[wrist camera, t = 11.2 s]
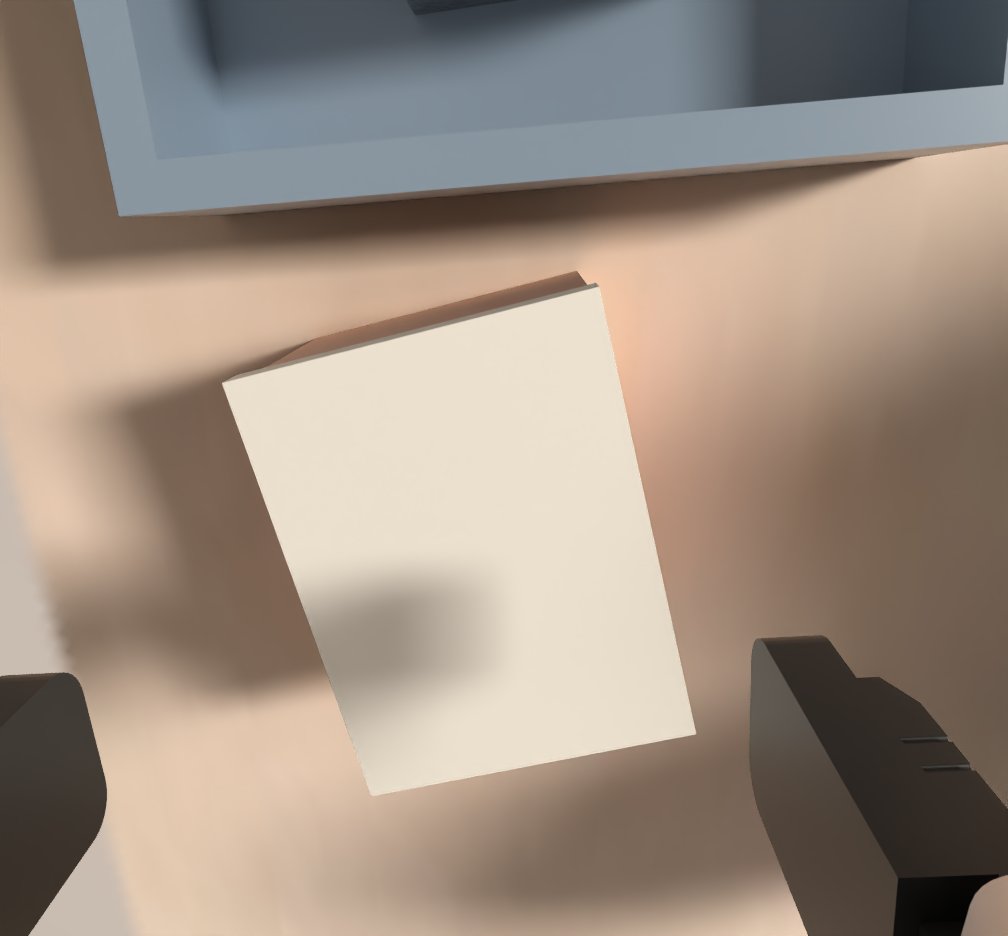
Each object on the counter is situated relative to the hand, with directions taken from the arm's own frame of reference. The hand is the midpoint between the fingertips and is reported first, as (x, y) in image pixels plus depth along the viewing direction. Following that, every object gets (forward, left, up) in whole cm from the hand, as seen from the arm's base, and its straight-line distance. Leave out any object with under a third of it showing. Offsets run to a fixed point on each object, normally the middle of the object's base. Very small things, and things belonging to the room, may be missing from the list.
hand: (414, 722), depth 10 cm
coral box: (0, 0, -10) cm, 10 cm away
